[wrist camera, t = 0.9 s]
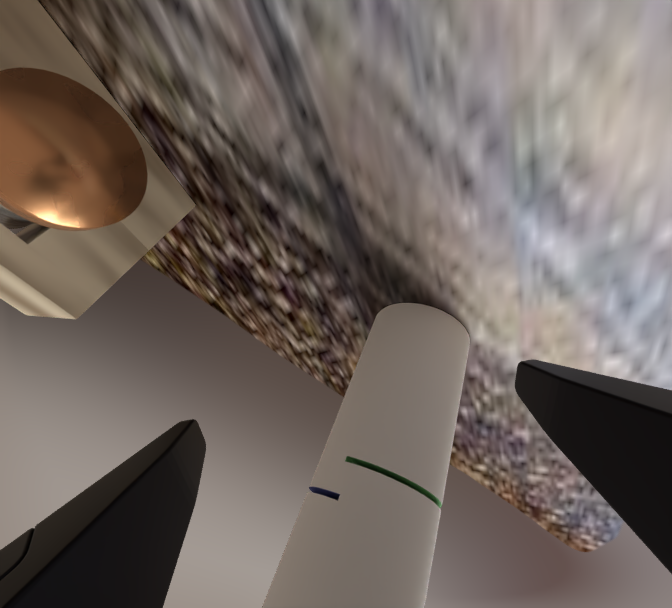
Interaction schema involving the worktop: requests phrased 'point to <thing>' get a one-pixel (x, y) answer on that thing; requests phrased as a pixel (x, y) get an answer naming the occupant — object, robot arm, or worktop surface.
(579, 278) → the worktop surface
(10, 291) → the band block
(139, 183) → the peg
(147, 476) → the robot arm
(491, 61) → the worktop surface
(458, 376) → the cylindrical container
